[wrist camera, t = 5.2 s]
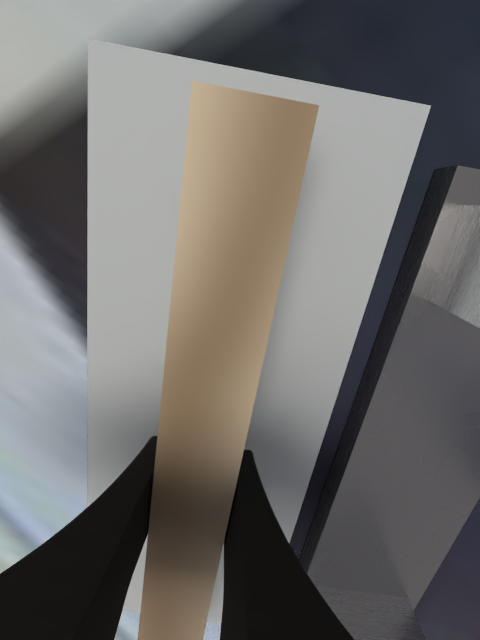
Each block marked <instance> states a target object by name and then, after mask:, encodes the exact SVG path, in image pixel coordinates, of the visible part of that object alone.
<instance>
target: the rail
mask: <svg viewBox="0 0 480 640" xmlns="http://www.w3.org/2000/svg"><path fill="white" fill-rule="evenodd" d="M318 109H319V105H315V104H310V103H305V102H300V101H295V100H289V99H284V98H279V97H274V96H269V95H264V94H258V93H253V92H248V91H243V90H238V89H233V88H228V87H222V86H217V85H212V84H207V83H202V82H197V81H192V85H191V96H190V106H189V116H188V127H187V137H186V147H185V158H184V168H183V178H182V189H181V199H180V209H179V219H178V230H177V240H176V250H175V261H174V271H173V281H172V292H171V302H170V312H169V323H168V333H167V343H166V354H165V364H164V374H163V385H162V395H161V405H160V416H159V426H158V436H157V446H156V457H155V467H154V477H153V488H152V498H151V508H150V519H149V529H148V539H147V550H146V560H145V570H144V581H143V591H142V601H141V612H140V622H139V632H138V640H203V635H204V630H205V626H206V621H207V617H208V612H209V608H210V603H211V598H212V594H213V589H214V585H215V580H216V576H217V571H218V566H219V562H220V557H221V553H222V548H223V543H224V539H225V534H226V530H227V525H228V521H229V516H230V511H231V507H232V502H233V498H234V493H235V489H236V484H237V479H238V475H239V470H240V466H241V461H242V457H243V452H244V447H245V443H246V438H247V434H248V429H249V425H250V420H251V415H252V411H253V406H254V402H255V397H256V393H257V388H258V383H259V379H260V374H261V370H262V365H263V360H264V356H265V351H266V347H267V342H268V338H269V333H270V328H271V324H272V319H273V315H274V310H275V306H276V301H277V296H278V292H279V287H280V283H281V278H282V274H283V269H284V264H285V260H286V255H287V251H288V246H289V242H290V237H291V232H292V228H293V223H294V219H295V214H296V210H297V205H298V200H299V196H300V191H301V187H302V182H303V177H304V173H305V168H306V164H307V159H308V155H309V150H310V145H311V141H312V136H313V132H314V127H315V123H316V118H317V113H318Z"/></svg>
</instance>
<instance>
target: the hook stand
mask: <svg viewBox="0 0 480 640" xmlns="http://www.w3.org/2000/svg"><path fill="white" fill-rule="evenodd" d="M479 498H480V170H479V169H474V168H469V167H464V166H452V167H446V168H440V169H435V171H434V174H433V177H432V180H431V183H430V185H429V188H428V191H427V194H426V197H425V200H424V203H423V206H422V208H421V211H420V214H419V217H418V220H417V223H416V226H415V229H414V231H413V234H412V237H411V240H410V243H409V246H408V249H407V252H406V254H405V257H404V260H403V263H402V266H401V269H400V272H399V274H398V277H397V280H396V283H395V286H394V289H393V292H392V295H391V297H390V300H389V303H388V306H387V309H386V312H385V315H384V318H383V320H382V323H381V326H380V329H379V332H378V335H377V338H376V341H375V343H374V346H373V349H372V352H371V355H370V358H369V361H368V364H367V366H366V369H365V372H364V375H363V378H362V381H361V384H360V386H359V389H358V392H357V395H356V398H355V401H354V404H353V407H352V409H351V412H350V415H349V418H348V421H347V424H346V427H345V430H344V432H343V435H342V438H341V441H340V444H339V447H338V450H337V453H336V455H335V458H334V461H333V464H332V467H331V470H330V473H329V476H328V478H327V481H326V484H325V487H324V490H323V493H322V496H321V499H320V501H319V504H318V507H317V510H316V513H315V516H314V519H313V521H312V524H311V527H310V530H309V533H308V536H307V539H306V542H305V544H304V547H303V550H302V553H301V556H300V559H299V561H300V563H301V565H302V567H303V568H304V570H305V571H306V573H307V574H308V576H309V577H310V579H311V580H312V582H313V583H314V585H315V586H316V588H317V589H318V591H319V592H320V594H321V595H322V597H323V598H324V600H325V601H326V603H327V604H328V605H329V607H330V608H331V610H332V611H333V612H334V614H335V615H336V616H337V618H338V619H339V620H340V622H341V623H342V624H343V626H344V627H345V628H346V629H347V631H348V632H349V633H350V635H351V636H352V637H353V638H354V640H425V637H424V635H423V632H422V630H421V627H420V625H419V622H418V620H417V617H416V615H415V612H414V609H415V608H416V606H417V604H418V602H419V601H420V599H421V597H422V596H423V594H424V592H425V590H426V589H427V587H428V585H429V584H430V582H431V580H432V579H433V577H434V575H435V573H436V572H437V570H438V568H439V567H440V565H441V563H442V561H443V560H444V558H445V556H446V555H447V553H448V551H449V549H450V548H451V546H452V544H453V543H454V541H455V539H456V537H457V536H458V534H459V532H460V531H461V529H462V527H463V525H464V524H465V522H466V520H467V519H468V517H469V515H470V513H471V512H472V510H473V508H474V507H475V505H476V503H477V501H478V500H479Z"/></svg>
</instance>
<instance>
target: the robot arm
mask: <svg viewBox="0 0 480 640" xmlns="http://www.w3.org/2000/svg"><path fill="white" fill-rule="evenodd" d="M156 446H157V436H152V437H151V438H150V439H149V440H148V442H147V443H146V445H145V446H144V447H143V449H142V450H141V451H140V452H139V454H138V455H137V456H136V457H135V458H134V460H133V461H132V462H131V463H130V464H129V465H128V467H127V468H126V469H125V470H124V471H123V472H122V473H121V474H120V476H119V477H118V478H117V479H116V480H115V481H114V482H113V483H112V484H111V485H110V486H109V487H108V488H107V489H106V490H105V491H104V492H103V493H102V494H101V495H100V496H99V497H98V498H97V499H96V500H95V501H94V502H93V503H92V504H91V505H89V506H88V507H87V508H86V509H85V510H84V511H83V512H82V513H80V514H79V515H78V516H77V517H76V518H75V519H74V520H72V521H71V522H70V523H69V524H68V525H66V526H65V527H64V528H63V529H61V530H60V531H59V532H58V533H56V534H55V535H54V536H53V537H51V538H50V539H49V540H47V541H46V542H45V543H43V544H42V545H41V546H39V547H38V548H37V549H35V550H34V551H32V552H31V553H30V554H28V555H27V556H25V557H24V558H22V559H21V560H20V561H18V562H17V563H15V564H14V565H12V566H11V567H10V568H8V569H7V570H5V571H4V572H2V573H1V574H0V640H114V638H115V634H116V631H117V627H118V623H119V620H120V616H121V613H122V609H123V606H124V602H125V599H126V595H127V592H128V588H129V585H130V582H131V579H132V576H133V573H134V570H135V567H136V565H137V562H138V559H139V557H140V554H141V551H142V548H143V546H144V543H145V540H146V538H147V535H148V529H149V519H150V508H151V498H152V488H153V477H154V467H155V457H156ZM220 640H354V638H353V637H352V636H351V635H350V633H349V632H348V631H347V629H346V628H345V627H344V626H343V624H342V623H341V622H340V620H339V619H338V618H337V616H336V615H335V614H334V612H333V611H332V610H331V608H330V607H329V605H328V604H327V603H326V601H325V600H324V598H323V597H322V595H321V594H320V592H319V591H318V589H317V588H316V586H315V585H314V583H313V582H312V580H311V579H310V577H309V576H308V574H307V573H306V571H305V570H304V568H303V567H302V565H301V563H300V561H299V560H298V558H297V556H296V555H295V553H294V551H293V549H292V548H291V546H290V544H289V542H288V540H287V538H286V537H285V535H284V533H283V531H282V529H281V527H280V525H279V522H278V520H277V518H276V516H275V514H274V512H273V509H272V507H271V505H270V502H269V500H268V498H267V495H266V493H265V490H264V487H263V485H262V482H261V479H260V476H259V473H258V470H257V467H256V463H255V460H254V456H253V453H252V451H251V450H246V449H244V452H243V457H242V461H241V466H240V470H239V475H238V479H237V484H236V489H235V493H234V498H233V502H232V507H231V511H230V516H229V521H228V525H227V530H226V534H225V539H224V591H223V609H222V622H221V635H220Z"/></svg>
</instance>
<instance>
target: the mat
mask: <svg viewBox="0 0 480 640" xmlns="http://www.w3.org/2000/svg"><path fill="white" fill-rule="evenodd" d="M192 81H197V82H202V83H207V84H212V85H217V86H222V87H228V88H233V89H238V90H243V91H248V92H253V93H258V94H264V95H269V96H274V97H279V98H284V99H289V100H295V101H300V102H305V103H310V104H315V105H319V109H318V113H317V118H316V123H315V127H314V132H313V136H312V141H311V145H310V150H309V155H308V159H307V164H306V168H305V173H304V177H303V182H302V187H301V191H300V196H299V200H298V205H297V210H296V214H295V219H294V223H293V228H292V232H291V237H290V242H289V246H288V251H287V255H286V260H285V264H284V269H283V274H282V278H281V283H280V287H279V292H278V296H277V301H276V306H275V310H274V315H273V319H272V324H271V328H270V333H269V338H268V342H267V347H266V351H265V356H264V360H263V365H262V370H261V374H260V379H259V383H258V388H257V393H256V397H255V402H254V406H253V411H252V415H251V420H250V425H249V429H248V434H247V438H246V443H245V447H244V449H246V450H251V451H252V453H253V456H254V460H255V463H256V467H257V470H258V473H259V476H260V479H261V482H262V485H263V487H264V490H265V493H266V495H267V498H268V500H269V502H270V505H271V507H272V509H273V512H274V514H275V516H276V518H277V520H278V522H279V525H280V527H281V529H282V531H283V533H284V535H285V537H286V538H287V540H288V542H289V543H290V540H291V537H292V534H293V531H294V528H295V525H296V521H297V518H298V515H299V512H300V509H301V506H302V503H303V500H304V497H305V494H306V491H307V487H308V484H309V481H310V478H311V475H312V472H313V469H314V466H315V463H316V460H317V457H318V453H319V450H320V447H321V444H322V441H323V438H324V435H325V432H326V429H327V426H328V423H329V419H330V416H331V413H332V410H333V407H334V404H335V401H336V398H337V395H338V392H339V389H340V386H341V382H342V379H343V376H344V373H345V370H346V367H347V364H348V361H349V358H350V355H351V352H352V348H353V345H354V342H355V339H356V336H357V333H358V330H359V327H360V324H361V321H362V318H363V314H364V311H365V308H366V305H367V302H368V299H369V296H370V293H371V290H372V287H373V284H374V280H375V277H376V274H377V271H378V268H379V265H380V262H381V259H382V256H383V253H384V250H385V246H386V243H387V240H388V237H389V234H390V231H391V228H392V225H393V222H394V219H395V216H396V212H397V209H398V206H399V203H400V200H401V197H402V194H403V191H404V188H405V185H406V182H407V178H408V175H409V172H410V169H411V166H412V163H413V160H414V157H415V154H416V151H417V148H418V144H419V141H420V138H421V135H422V132H423V129H424V126H425V123H426V120H427V117H428V114H429V110H430V107H431V106H429V105H424V104H419V103H414V102H409V101H404V100H399V99H394V98H389V97H384V96H378V95H373V94H368V93H363V92H358V91H353V90H348V89H343V88H338V87H333V86H327V85H322V84H317V83H312V82H307V81H302V80H297V79H292V78H287V77H282V76H277V75H271V74H266V73H261V72H256V71H251V70H246V69H241V68H236V67H231V66H226V65H221V64H215V63H210V62H205V61H200V60H195V59H190V58H185V57H180V56H175V55H170V54H164V53H159V52H154V51H149V50H144V49H139V48H134V47H129V46H124V45H119V44H114V43H108V42H103V41H98V40H93V39H88V337H87V507H88V506H89V505H91V504H92V503H93V502H94V501H95V500H96V499H97V498H98V497H99V496H100V495H101V494H102V493H103V492H104V491H105V490H106V489H107V488H108V487H109V486H110V485H111V484H112V483H113V482H114V481H115V480H116V479H117V478H118V477H119V476H120V474H121V473H122V472H123V471H124V470H125V469H126V468H127V467H128V465H129V464H130V463H131V462H132V461H133V460H134V458H135V457H136V456H137V455H138V454H139V452H140V451H141V450H142V449H143V447H144V446H145V445H146V443H147V442H148V440H149V439H150V438H151V437H152V436H158V426H159V416H160V405H161V395H162V385H163V374H164V364H165V354H166V343H167V333H168V323H169V312H170V302H171V292H172V281H173V271H174V261H175V250H176V240H177V230H178V219H179V209H180V199H181V189H182V178H183V168H184V158H185V147H186V137H187V127H188V116H189V106H190V96H191V85H192ZM147 539H148V535H147V538H146V540H145V543H144V546H143V548H142V551H141V554H140V557H139V559H138V562H137V565H136V567H135V570H134V573H133V576H132V579H131V582H130V585H129V588H128V592H127V595H126V599H125V602H124V606H123V609H122V611H129V612H137V613H140V612H141V601H142V591H143V581H144V570H145V560H146V550H147ZM223 591H224V543H223V548H222V553H221V557H220V562H219V566H218V571H217V576H216V580H215V585H214V589H213V594H212V598H211V603H210V608H209V612H208V617H207V621H206V622H214V623H221V622H222V609H223Z"/></svg>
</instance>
